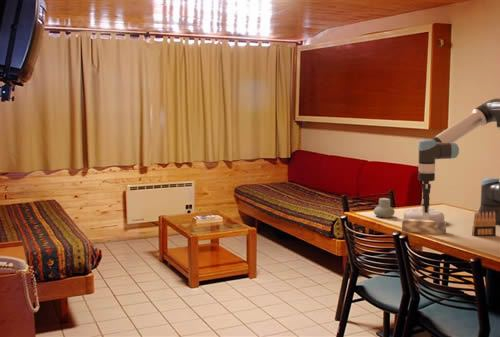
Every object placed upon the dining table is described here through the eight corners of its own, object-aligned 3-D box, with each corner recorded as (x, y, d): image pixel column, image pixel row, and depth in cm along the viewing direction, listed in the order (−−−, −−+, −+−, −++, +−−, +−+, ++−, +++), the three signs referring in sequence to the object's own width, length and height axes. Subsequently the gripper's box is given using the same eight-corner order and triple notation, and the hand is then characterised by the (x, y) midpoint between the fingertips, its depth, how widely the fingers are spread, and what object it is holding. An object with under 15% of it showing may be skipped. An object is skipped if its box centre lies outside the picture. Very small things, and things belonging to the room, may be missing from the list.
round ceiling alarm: (420, 230, 270) (420, 217, 269) (389, 219, 293) (389, 208, 292) (459, 225, 279) (460, 213, 279) (426, 215, 302) (426, 205, 302)
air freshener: (386, 214, 304) (387, 196, 303) (396, 217, 297) (397, 199, 296) (371, 216, 299) (371, 198, 298) (381, 219, 292) (382, 201, 290)
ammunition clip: (473, 237, 255) (475, 212, 253) (471, 236, 257) (473, 211, 255) (495, 237, 256) (497, 211, 254) (493, 236, 257) (495, 211, 256)
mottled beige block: (445, 233, 262) (445, 221, 261) (445, 235, 258) (446, 222, 258) (401, 230, 267) (402, 218, 267) (401, 232, 264) (402, 220, 263)
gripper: (417, 168, 272) (416, 210, 275) (418, 175, 248) (417, 221, 251) (433, 168, 270) (432, 210, 273) (436, 176, 246) (434, 222, 249)
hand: (425, 216), depth 262 cm, fingers open, 13 cm apart
